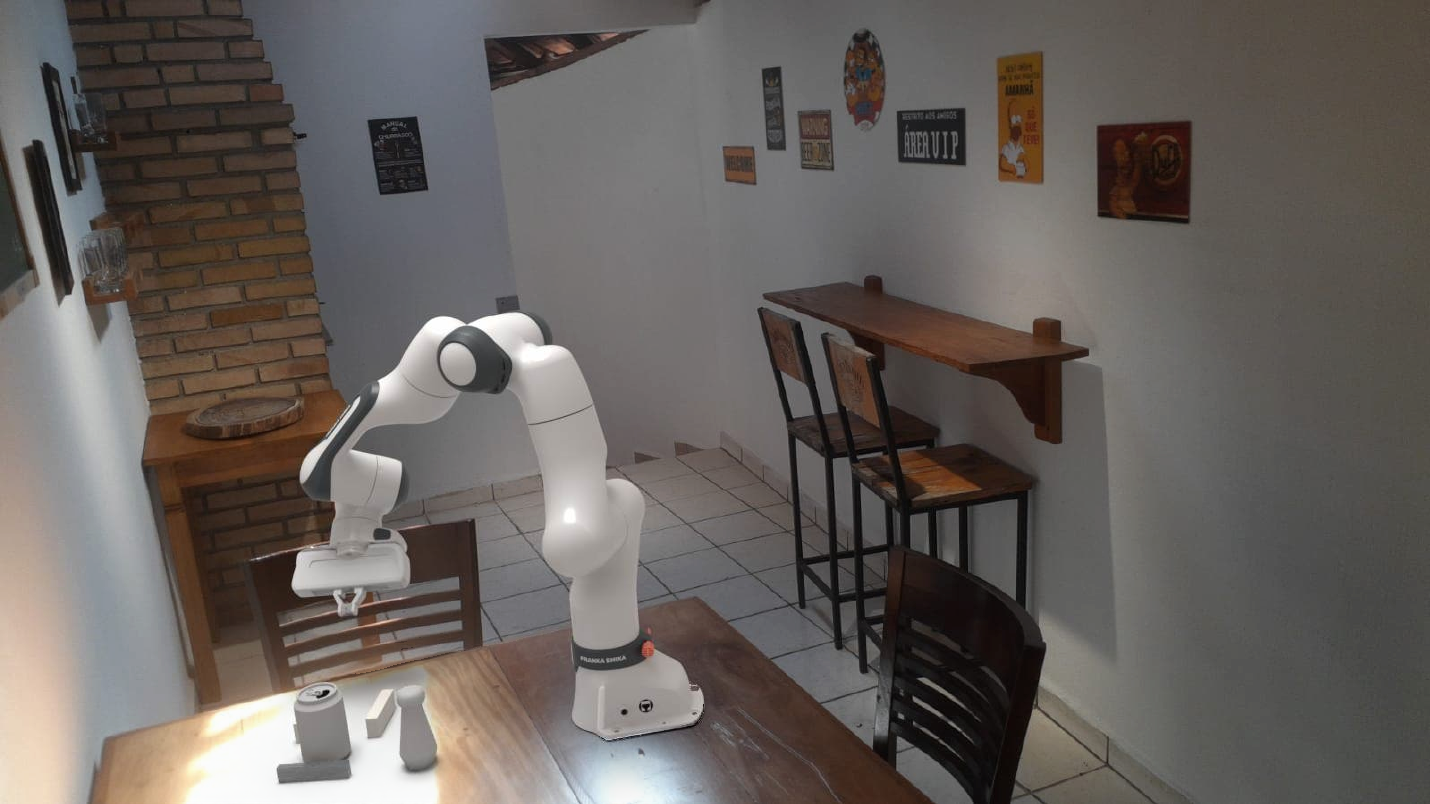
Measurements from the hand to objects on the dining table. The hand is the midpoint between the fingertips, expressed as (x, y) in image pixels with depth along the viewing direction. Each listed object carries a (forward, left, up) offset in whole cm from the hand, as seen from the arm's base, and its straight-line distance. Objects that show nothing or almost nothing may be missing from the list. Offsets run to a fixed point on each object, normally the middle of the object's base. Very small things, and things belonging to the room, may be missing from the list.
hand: (347, 614), depth 188 cm
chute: (0, +7, -17) cm, 19 cm away
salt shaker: (-16, +21, -17) cm, 31 cm away
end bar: (0, +23, -17) cm, 29 cm away
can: (0, +17, -17) cm, 24 cm away
